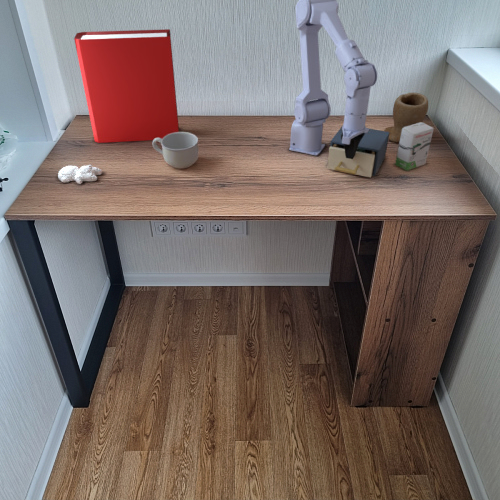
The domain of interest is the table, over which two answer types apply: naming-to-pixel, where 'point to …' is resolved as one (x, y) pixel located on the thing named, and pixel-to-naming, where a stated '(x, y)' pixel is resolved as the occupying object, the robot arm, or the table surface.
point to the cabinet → (369, 144)
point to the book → (128, 84)
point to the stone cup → (407, 113)
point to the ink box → (414, 146)
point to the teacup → (178, 149)
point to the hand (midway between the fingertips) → (349, 157)
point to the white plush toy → (79, 174)
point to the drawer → (351, 161)
